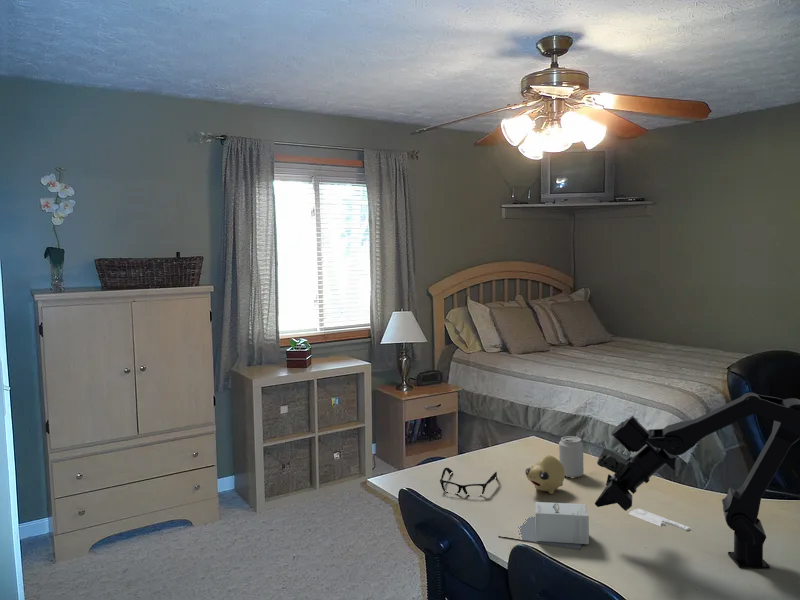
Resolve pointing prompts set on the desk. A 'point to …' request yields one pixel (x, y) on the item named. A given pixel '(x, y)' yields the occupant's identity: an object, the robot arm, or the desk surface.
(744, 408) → the robot arm
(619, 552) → the desk surface
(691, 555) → the desk surface
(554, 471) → the beige rounded figure
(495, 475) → the glasses
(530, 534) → the mat
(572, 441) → the can
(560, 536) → the supplement box
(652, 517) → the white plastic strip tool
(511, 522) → the desk surface
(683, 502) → the desk surface
